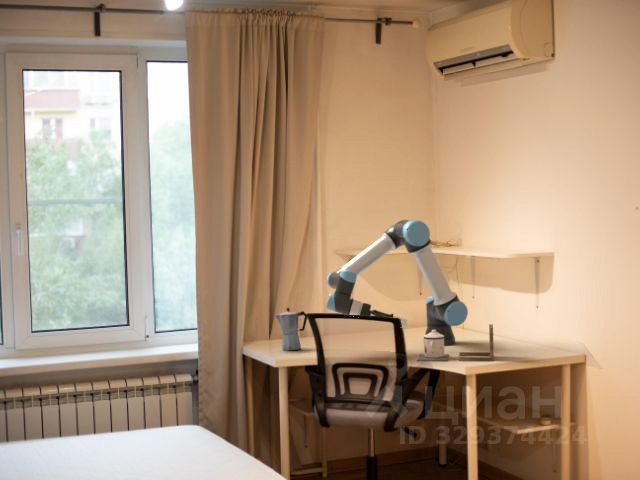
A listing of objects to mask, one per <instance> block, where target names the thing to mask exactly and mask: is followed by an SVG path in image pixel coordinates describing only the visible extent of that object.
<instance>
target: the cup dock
mask: <svg viewBox="0 0 640 480" xmlns="http://www.w3.org/2000/svg"><path fill="white" fill-rule="evenodd" d="M488 329H489V331H488V332H489V333H488V334H489V339H488V340H489V351H483V352H481V351H479V352H478V351H473V352H472V351H471V352H470V351H468V352H467V351H459V355H458V356H459V357H458V362H494V361H495V360H494V359H495V358H494V355H495V354H494V352H495V351H494V348H495V347H494V325H493V324H492V323H491V324H488Z"/></svg>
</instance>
